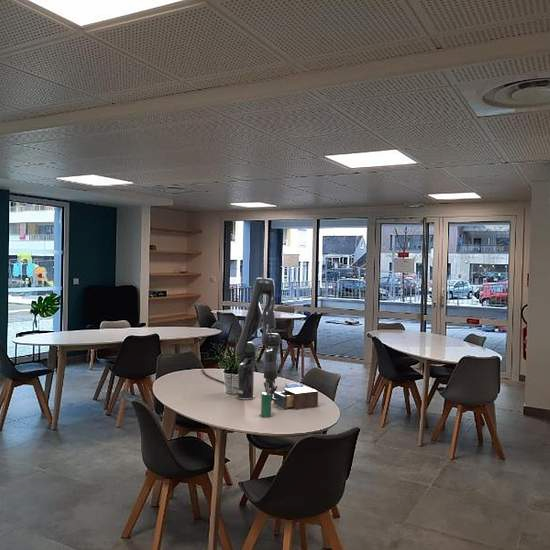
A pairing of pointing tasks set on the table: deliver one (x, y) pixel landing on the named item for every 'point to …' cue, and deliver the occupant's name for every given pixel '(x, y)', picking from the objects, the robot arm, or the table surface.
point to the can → (266, 404)
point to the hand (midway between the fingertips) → (270, 400)
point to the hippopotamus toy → (293, 385)
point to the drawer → (283, 399)
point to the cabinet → (304, 397)
